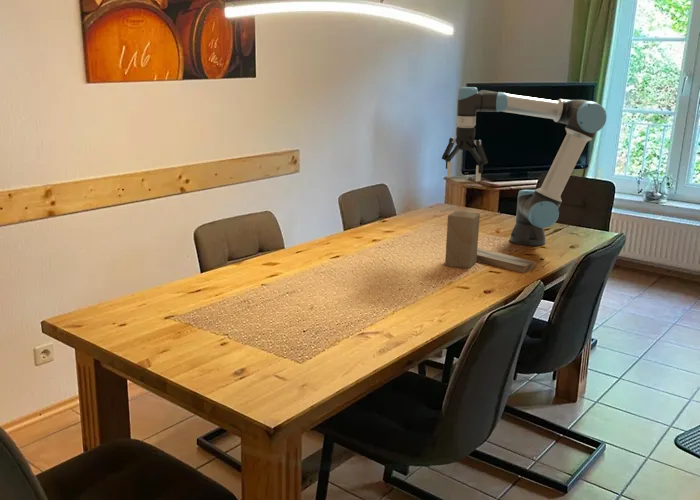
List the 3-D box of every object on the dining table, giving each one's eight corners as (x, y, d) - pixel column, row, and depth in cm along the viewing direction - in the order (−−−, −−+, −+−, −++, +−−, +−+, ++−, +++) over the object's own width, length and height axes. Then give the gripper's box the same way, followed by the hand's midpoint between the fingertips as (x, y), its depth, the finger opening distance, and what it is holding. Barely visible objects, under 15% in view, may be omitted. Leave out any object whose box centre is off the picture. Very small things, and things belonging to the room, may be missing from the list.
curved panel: (474, 252, 286) (474, 244, 285) (535, 267, 267) (535, 259, 266) (461, 257, 279) (462, 248, 278) (523, 272, 261) (524, 263, 260)
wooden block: (469, 269, 264) (473, 218, 258) (444, 265, 268) (447, 215, 262) (476, 262, 273) (480, 213, 267) (452, 258, 277) (455, 210, 271)
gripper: (434, 125, 281) (432, 176, 287) (488, 129, 266) (485, 184, 272) (444, 123, 287) (442, 174, 293) (498, 128, 271) (495, 181, 277)
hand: (463, 179), depth 282 cm, fingers open, 13 cm apart
